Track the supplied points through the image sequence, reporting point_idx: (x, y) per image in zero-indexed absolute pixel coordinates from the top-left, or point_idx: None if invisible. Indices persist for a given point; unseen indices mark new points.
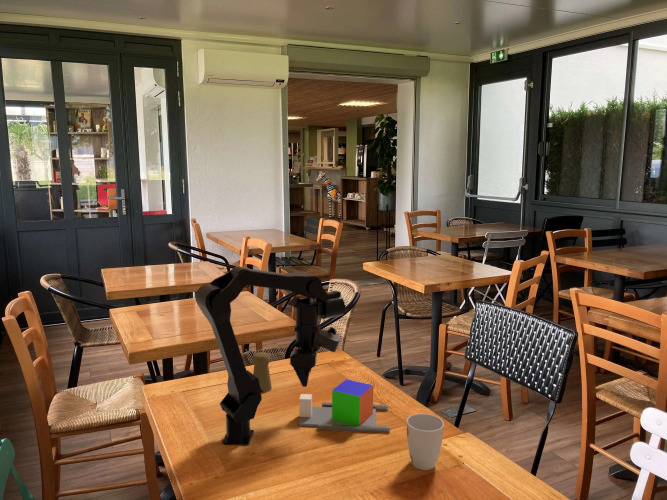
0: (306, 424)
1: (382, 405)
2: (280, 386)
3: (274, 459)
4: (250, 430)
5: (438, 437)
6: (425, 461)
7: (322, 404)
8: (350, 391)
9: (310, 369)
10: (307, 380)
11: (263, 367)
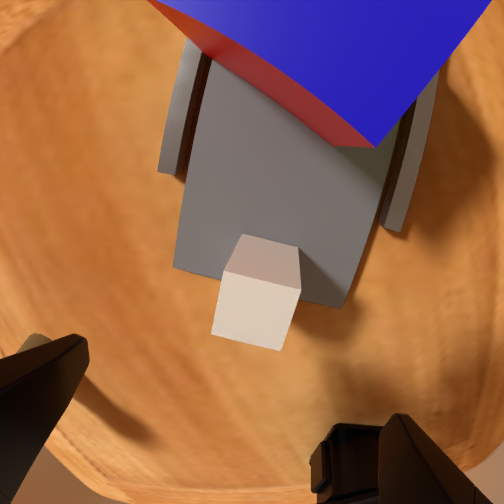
0: (354, 274)
1: None
2: (24, 306)
3: (487, 370)
4: (335, 433)
5: None
6: None
7: (174, 172)
8: (419, 2)
9: (68, 354)
10: (443, 455)
11: None
